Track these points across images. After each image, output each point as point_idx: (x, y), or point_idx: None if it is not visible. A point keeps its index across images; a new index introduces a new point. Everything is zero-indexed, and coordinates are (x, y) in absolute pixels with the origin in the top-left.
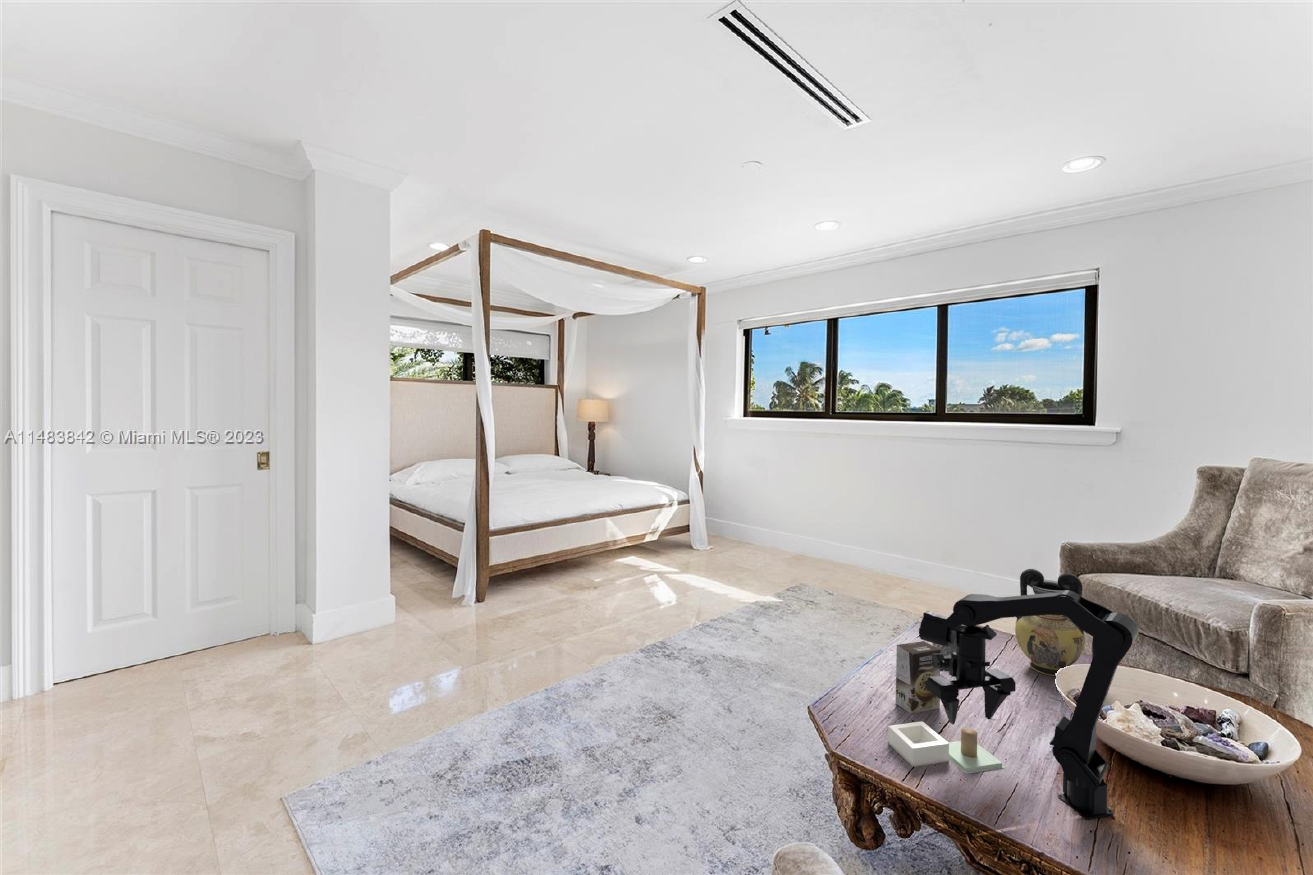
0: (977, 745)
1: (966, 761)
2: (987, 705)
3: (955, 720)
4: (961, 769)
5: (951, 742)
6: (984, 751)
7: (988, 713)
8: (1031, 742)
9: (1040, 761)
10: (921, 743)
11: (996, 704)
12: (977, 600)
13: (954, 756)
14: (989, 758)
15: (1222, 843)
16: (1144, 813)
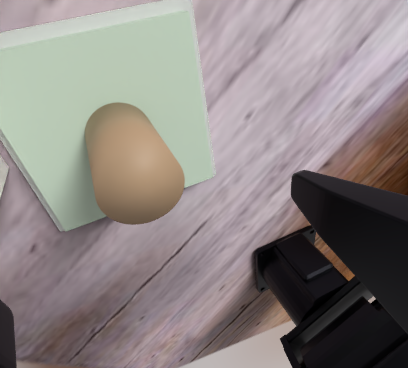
0: (187, 71)
1: (84, 191)
2: (370, 241)
3: (14, 365)
4: (52, 213)
5: (60, 43)
6: (193, 115)
7: (319, 217)
8: (395, 7)
9: (330, 119)
10: None
11: (404, 328)
12: None
13: (39, 167)
14: (185, 160)
15: None
16: None
